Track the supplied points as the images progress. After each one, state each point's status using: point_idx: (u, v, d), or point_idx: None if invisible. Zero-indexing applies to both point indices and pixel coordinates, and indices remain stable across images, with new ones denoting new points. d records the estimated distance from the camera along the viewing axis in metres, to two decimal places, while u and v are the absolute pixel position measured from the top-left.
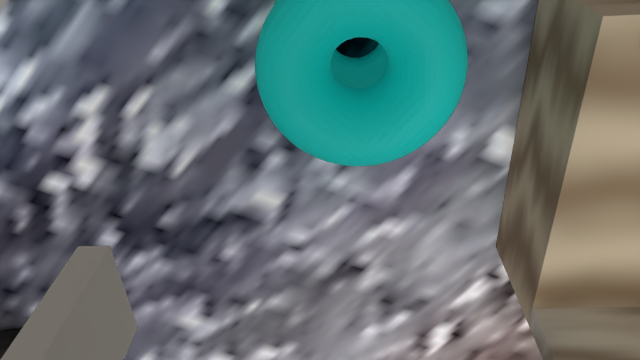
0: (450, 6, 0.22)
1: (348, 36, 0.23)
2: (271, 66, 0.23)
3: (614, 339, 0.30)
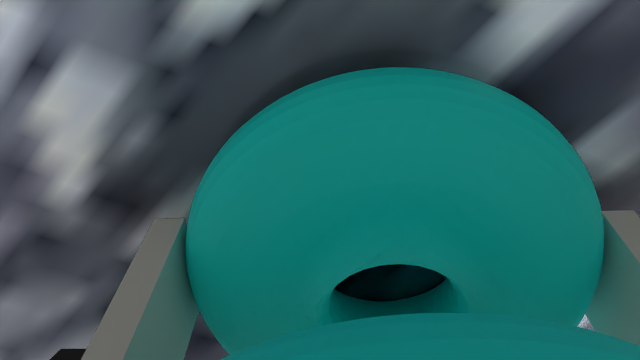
0: None
1: None
2: None
3: None
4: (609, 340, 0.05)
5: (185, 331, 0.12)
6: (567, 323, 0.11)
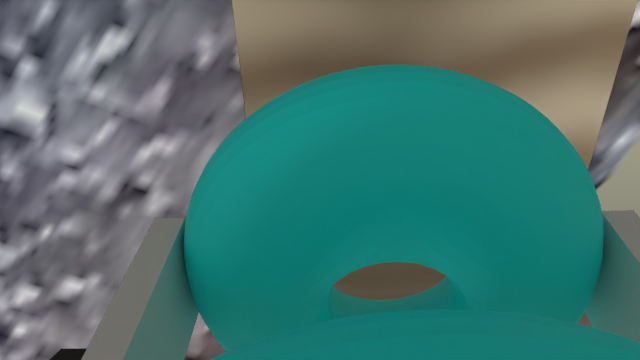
0: None
1: None
2: None
3: None
4: (608, 336, 0.05)
5: (185, 331, 0.12)
6: (566, 321, 0.11)
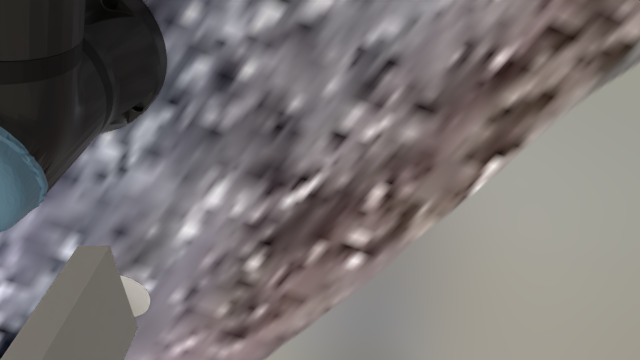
0: None
1: None
2: None
3: None
4: None
5: None
6: None
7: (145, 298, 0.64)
